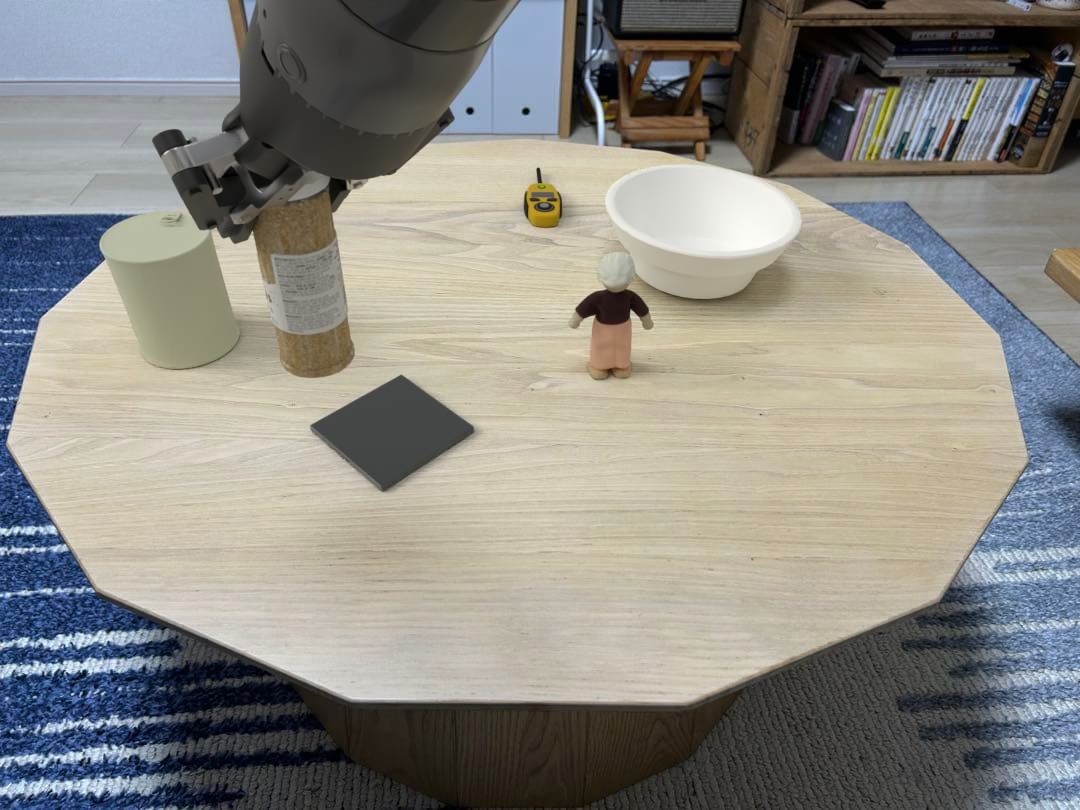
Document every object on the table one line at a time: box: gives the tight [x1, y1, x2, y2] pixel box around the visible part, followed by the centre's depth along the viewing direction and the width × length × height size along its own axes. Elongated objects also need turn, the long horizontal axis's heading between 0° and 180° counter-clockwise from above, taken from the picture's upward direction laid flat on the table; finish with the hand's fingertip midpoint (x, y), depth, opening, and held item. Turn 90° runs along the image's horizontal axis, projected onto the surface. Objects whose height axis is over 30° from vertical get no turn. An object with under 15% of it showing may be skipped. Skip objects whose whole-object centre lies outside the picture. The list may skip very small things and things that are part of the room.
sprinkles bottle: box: [252, 175, 356, 379], centre depth 43 cm, size 5×5×13 cm
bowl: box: [604, 163, 803, 300], centre depth 85 cm, size 21×21×8 cm
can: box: [98, 210, 241, 370], centre depth 71 cm, size 9×9×12 cm
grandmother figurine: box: [568, 250, 655, 381], centre depth 70 cm, size 8×4×13 cm, turn 106°
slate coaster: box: [309, 374, 475, 492], centre depth 66 cm, size 10×10×1 cm
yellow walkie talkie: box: [523, 167, 563, 228], centre depth 99 cm, size 5×2×15 cm
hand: (276, 211), depth 42 cm, fingers closed on sprinkles bottle, 4 cm apart
